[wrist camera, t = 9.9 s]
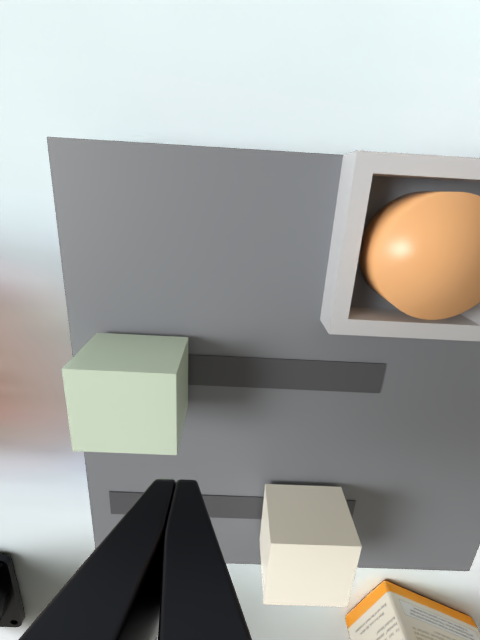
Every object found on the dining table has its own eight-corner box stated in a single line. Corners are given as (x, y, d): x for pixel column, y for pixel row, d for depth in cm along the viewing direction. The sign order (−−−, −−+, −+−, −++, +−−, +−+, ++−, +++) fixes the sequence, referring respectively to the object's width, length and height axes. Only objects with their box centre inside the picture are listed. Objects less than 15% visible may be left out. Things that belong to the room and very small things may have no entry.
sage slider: (187, 406, 15) (176, 455, 12) (103, 402, 15) (72, 451, 12) (188, 337, 14) (176, 374, 11) (96, 332, 14) (61, 368, 11)
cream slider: (330, 541, 18) (347, 607, 15) (259, 539, 18) (263, 604, 15) (341, 486, 17) (361, 546, 14) (265, 483, 17) (270, 543, 14)
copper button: (453, 304, 14) (487, 322, 12) (351, 299, 14) (368, 316, 12) (483, 194, 12) (527, 195, 11) (370, 187, 12) (393, 187, 10)
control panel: (439, 522, 22) (487, 601, 18) (115, 510, 22) (85, 588, 17) (555, 175, 15) (677, 170, 11) (83, 146, 15) (21, 129, 11)
